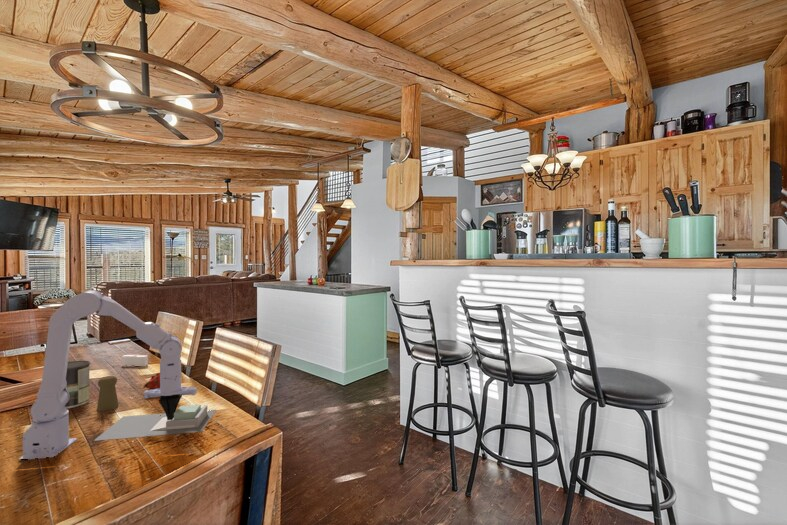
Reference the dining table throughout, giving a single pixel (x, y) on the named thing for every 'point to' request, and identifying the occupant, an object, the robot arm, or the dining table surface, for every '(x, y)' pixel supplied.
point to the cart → (187, 412)
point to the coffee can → (77, 383)
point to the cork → (107, 394)
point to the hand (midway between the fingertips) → (171, 418)
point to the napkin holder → (135, 360)
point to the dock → (155, 425)
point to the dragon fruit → (153, 382)
